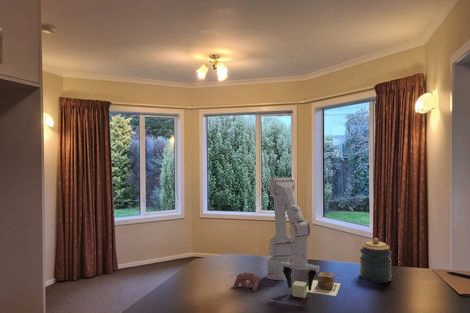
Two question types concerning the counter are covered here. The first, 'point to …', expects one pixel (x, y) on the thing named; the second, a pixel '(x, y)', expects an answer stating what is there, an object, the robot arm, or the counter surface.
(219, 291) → the counter surface
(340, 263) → the counter surface
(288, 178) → the robot arm
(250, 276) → the video game controller
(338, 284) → the cream square tray
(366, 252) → the canister
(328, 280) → the walnut block
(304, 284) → the sage block
